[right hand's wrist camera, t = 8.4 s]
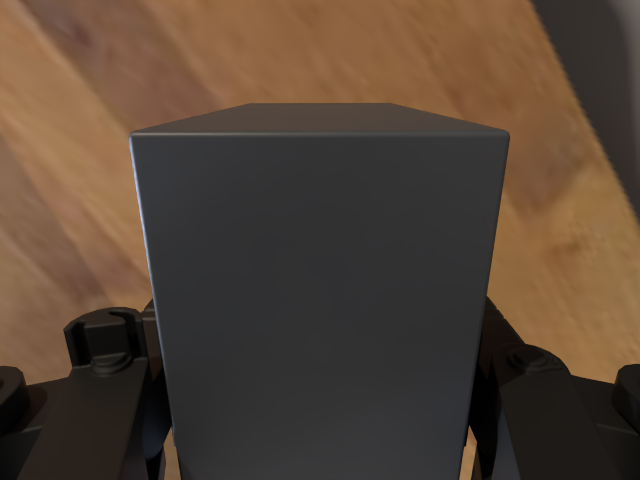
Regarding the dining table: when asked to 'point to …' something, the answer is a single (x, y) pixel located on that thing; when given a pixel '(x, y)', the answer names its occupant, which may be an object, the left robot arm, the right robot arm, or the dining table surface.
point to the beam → (319, 285)
